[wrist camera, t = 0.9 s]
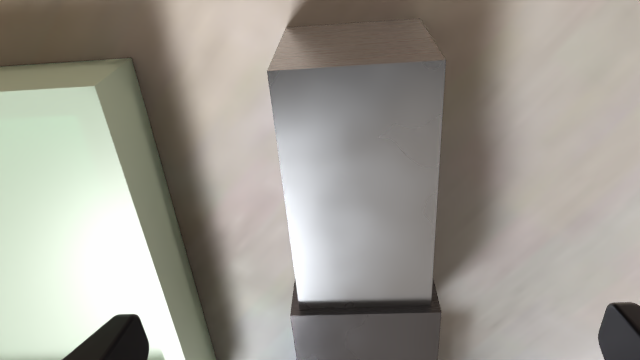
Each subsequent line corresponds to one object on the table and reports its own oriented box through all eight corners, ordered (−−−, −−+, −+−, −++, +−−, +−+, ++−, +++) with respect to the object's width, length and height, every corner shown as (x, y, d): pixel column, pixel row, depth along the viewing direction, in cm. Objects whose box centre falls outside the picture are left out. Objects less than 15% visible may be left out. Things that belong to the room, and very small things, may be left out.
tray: (221, 379, 23) (208, 430, 21) (-30, 382, 24) (-69, 431, 22) (131, 58, 15) (94, 86, 13) (-242, 81, 16) (-337, 112, 14)
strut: (416, 308, 20) (434, 405, 16) (311, 311, 20) (304, 407, 17) (428, 17, 14) (460, 63, 10) (278, 27, 14) (254, 75, 11)
